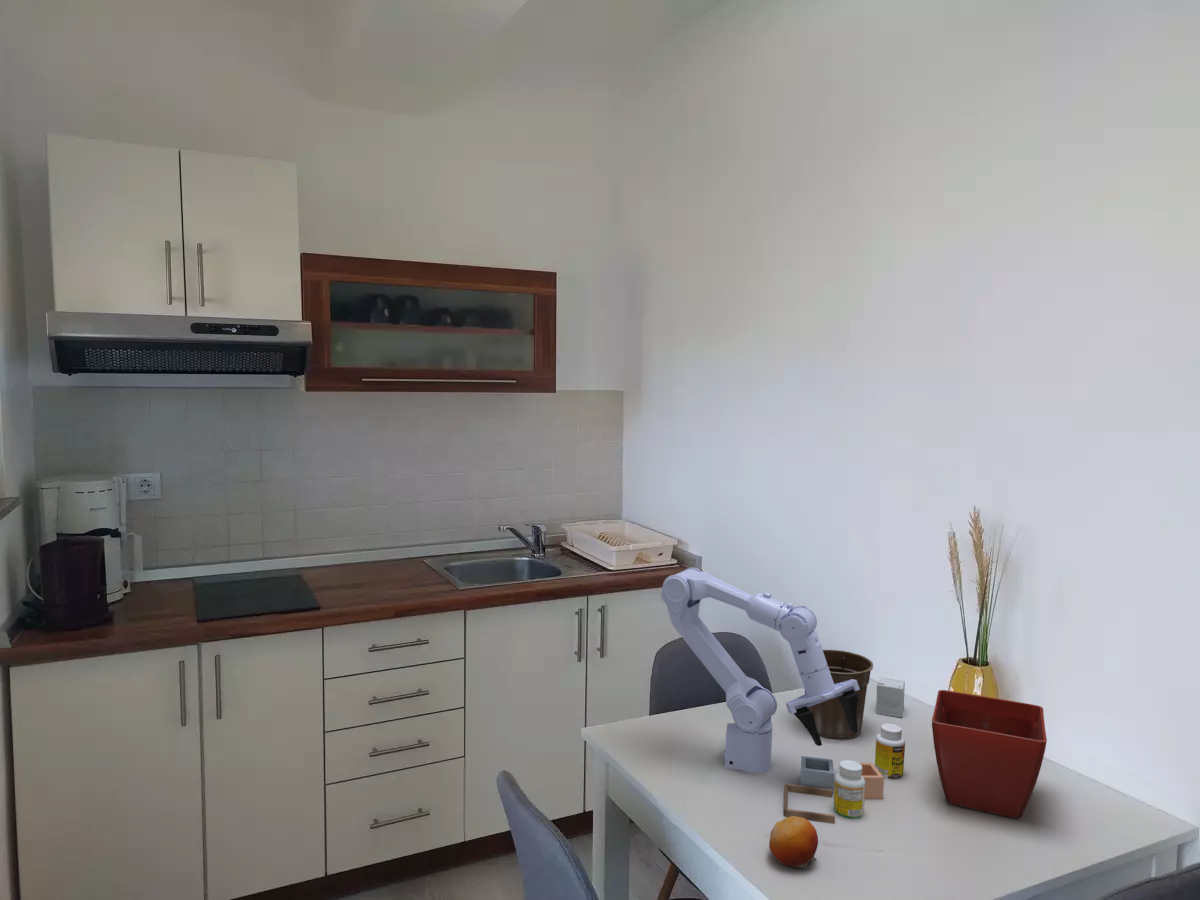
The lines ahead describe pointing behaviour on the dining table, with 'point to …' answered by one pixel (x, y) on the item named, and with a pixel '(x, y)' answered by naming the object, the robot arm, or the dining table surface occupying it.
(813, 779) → the cup slate
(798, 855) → the fruit
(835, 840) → the dining table surface
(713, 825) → the dining table surface
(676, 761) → the dining table surface
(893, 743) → the supplement bottle
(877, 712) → the skincare box
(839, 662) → the plant pot
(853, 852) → the dining table surface
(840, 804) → the supplement bottle
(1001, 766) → the plant pot
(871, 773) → the peach square planter
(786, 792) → the corral
